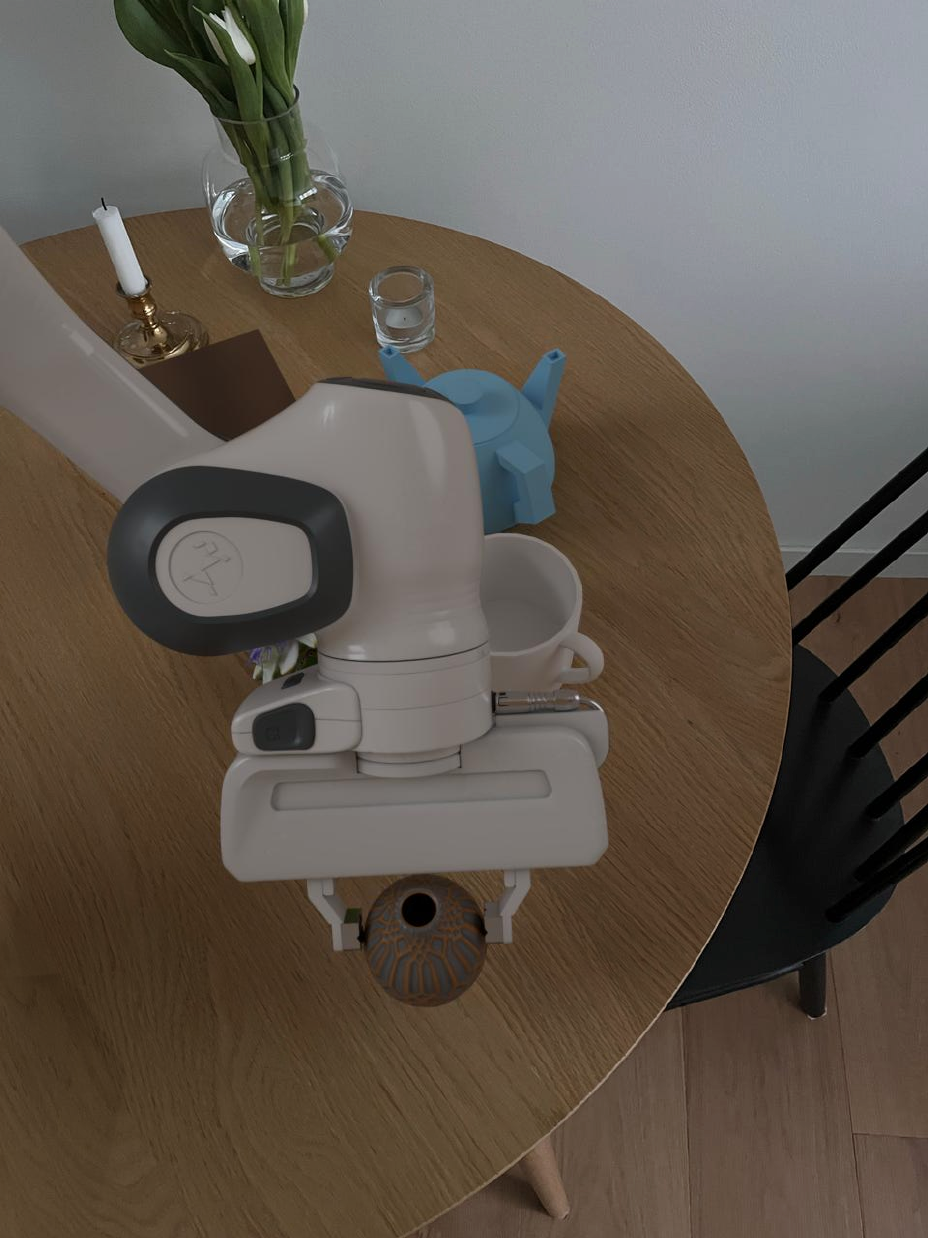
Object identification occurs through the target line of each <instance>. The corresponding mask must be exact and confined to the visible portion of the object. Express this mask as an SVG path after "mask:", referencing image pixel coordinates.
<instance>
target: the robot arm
mask: <svg viewBox="0 0 928 1238" xmlns="http://www.w3.org/2000/svg"><path fill="white" fill-rule="evenodd" d="M138 369H139V368H137V367H136V366H135V365H133V364H132V362H130V361H129V359H127V358H125V357H124V356H123V355H122V354H121V353H120V352H119V351H118V350H117V349H115V347H114V346H112V345H111V344H110V343H109V342H107V340H105V339H104V338H103V337H102V336H101V335H99V333H97V331H95V329H93V328H92V327H91V326H90V325H88V324H87V322H86V321H85V320H83V319H82V318H81V317H80V316H79V315H78V314H76V312H75V311H74V310H73V309H72V308H71V307H70V305H68V303H66V302H65V301H64V299H63V298H62V297H61V296H60V295H59V293H58V292H56V290H55V289H54V287H52V285H51V284H50V283H49V282H48V281H47V280H46V278H45V277H44V276H43V274H42V273H41V272H40V271H39V270H38V269H37V267H36V266H35V265H34V264H33V262H31V260H30V259H29V258H28V256H27V255H26V254H25V253H24V252H23V250H22V249H21V247H20V246H19V245H18V243H16V241H15V240H14V239H13V238H12V236H11V235H10V234H9V233H8V232H7V230H6V229H5V228H4V226H3V225H2V224H1V223H0V407H2V408H4V409H5V410H7V411H8V412H10V413H11V414H12V415H14V416H15V417H17V418H18V419H19V420H20V421H22V422H23V423H24V424H26V426H28V427H29V428H30V429H32V430H33V431H34V432H35V433H36V434H38V435H39V436H40V437H41V438H42V439H44V441H46V442H48V443H49V444H50V445H51V446H52V447H53V448H54V449H56V450H57V451H58V452H59V453H60V454H61V455H63V456H64V457H65V458H66V459H68V461H70V462H71V463H73V464H74V465H75V466H76V467H77V468H78V469H80V470H81V471H82V472H83V473H85V474H86V475H87V476H88V477H90V479H92V480H93V481H94V482H95V483H97V484H98V485H99V486H100V487H102V488H103V489H104V490H105V491H106V492H107V493H108V494H110V495H111V496H113V497H114V498H115V499H116V500H117V501H118V502H120V504H121V505H122V506H121V507H120V509H119V511H118V512H117V514H116V516H115V518H114V521H113V523H112V525H111V529H110V532H109V536H108V541H107V547H106V549H107V550H106V565H107V572H108V578H109V582H110V585H111V588H112V591H113V593H114V594H113V595H115V598H116V600H117V602H118V604H119V607H121V609H122V611H123V613H124V614H125V615H126V617H127V618H128V619H129V620H130V621H131V623H133V625H134V626H135V627H136V628H137V629H138V630H139V631H141V632H142V633H143V634H144V635H145V636H147V637H148V638H149V639H151V640H152V641H154V642H155V643H157V644H158V645H160V646H162V647H165V648H167V649H168V650H171V651H174V652H177V653H180V654H184V655H188V656H195V657H206V658H207V657H210V658H211V657H220V656H221V657H222V656H231V655H236V654H240V653H241V654H242V653H244V652H248V651H249V650H252V649H256V648H261V647H265V646H268V645H272V644H276V643H280V642H284V641H288V640H291V639H294V638H298V637H301V636H304V635H307V634H310V633H313V634H314V635H315V636H316V640H317V648H316V652H317V653H318V664H316V665H313V666H311V667H308V668H305V669H303V670H300V669H299V670H300V671H299V670H297V672H294V673H291V674H289V675H286V676H283V677H280V678H277V679H275V680H272V681H269V682H267V683H265V684H263V683H262V684H263V685H262V684H261V685H259V686H258V687H257V688H255V689H254V690H253V691H252V692H250V694H249V695H248V696H246V698H245V699H244V700H243V701H242V702H241V704H240V705H239V707H238V708H237V709H236V711H235V713H234V715H233V718H232V721H231V724H230V731H231V739H232V744H233V746H234V749H235V750H236V751H237V754H236V755H235V758H234V759H233V760H232V761H231V764H230V765H229V767H228V769H227V770H226V773H225V775H224V778H223V783H222V788H221V798H220V817H219V818H220V821H219V822H220V827H219V829H220V849H221V850H220V851H221V853H220V854H221V860H222V864H223V866H224V868H225V869H226V870H227V872H229V873H230V875H231V876H233V878H235V880H237V881H238V882H240V883H259V882H280V881H281V882H282V881H299V880H300V881H302V880H306V889H307V890H306V891H307V898H308V899H309V901H311V903H312V904H313V906H315V908H316V909H317V910H318V912H319V913H320V914H321V916H322V917H323V918H324V920H325V921H326V922H327V923H328V925H331V935H332V947H333V951H334V952H335V953H339V952H341V953H343V952H355V951H356V952H357V951H362V950H363V935H364V926H363V925H362V924H363V921H364V919H363V908H362V907H353V908H352V907H350V908H349V907H347V905H346V904H345V903H344V901H343V899H342V898H341V896H340V895H339V893H338V892H337V890H336V887H337V883H338V880H339V879H343V878H365V877H385V876H405V875H407V876H411V875H415V874H448V873H449V874H451V873H452V874H453V873H470V872H471V873H472V872H495V871H503V881H504V882H503V884H504V886H505V887H504V889H503V892H501V895H500V897H499V899H498V900H497V901H485V902H483V916H484V921H485V941H486V945H507V944H508V945H509V944H513V924H512V923H513V921H512V919H513V918H512V917H513V916H515V914H516V912H517V911H518V910H519V908H520V906H521V904H522V902H523V901H524V899H525V898H526V896H527V894H528V893H529V891H530V888H531V887H532V884H531V870H537V869H557V868H578V867H579V868H580V867H591V866H594V865H596V864H597V863H598V862H599V860H600V859H602V856H603V855H604V854H605V853H606V851H607V850H608V848H609V830H608V829H609V828H608V819H607V812H606V803H605V799H604V793H603V788H602V783H601V779H600V774H599V773H600V772H599V769H600V768H601V767H603V765H604V763H605V762H606V761H607V759H608V756H609V753H610V747H611V746H610V745H611V743H610V742H611V741H610V739H611V738H610V722H609V717H608V714H607V712H606V710H605V709H604V708H603V706H602V705H601V704H600V703H598V701H596V700H595V699H593V698H590V697H589V696H585V695H580V691H579V690H577V689H572V688H560V689H557V690H553V692H532V691H529V692H528V691H512V692H493V690H492V685H491V662H490V642H489V630H488V625H487V622H486V619H485V616H484V614H483V611H482V607H481V603H480V597H479V582H480V575H481V570H482V566H483V562H484V556H485V541H484V524H483V510H482V499H481V489H480V480H479V473H478V465H477V459H476V453H475V448H474V444H473V439H472V435H471V432H470V428H469V425H468V423H467V420H466V418H465V417H464V415H463V413H462V412H461V411H460V410H459V409H458V408H457V407H456V405H455V404H454V403H453V402H452V401H450V400H449V399H448V398H446V397H445V396H443V395H442V394H440V393H438V392H436V391H434V390H432V389H430V388H427V387H424V388H423V387H419V386H416V385H413V384H406V383H400V382H393V381H387V379H386V380H385V379H378V378H370V377H359V378H358V377H352V376H333V377H326V378H325V379H321V380H318V381H316V382H314V383H313V384H312V385H311V387H310V388H309V389H308V390H307V391H306V392H305V393H304V394H303V395H301V397H299V398H298V399H296V402H294V403H293V404H291V405H290V406H289V407H287V408H286V409H285V410H283V411H282V412H280V413H279V414H277V415H275V416H274V417H272V418H270V419H269V420H267V421H266V422H264V423H262V424H261V425H259V426H257V427H256V428H254V429H252V430H250V431H248V432H246V433H244V434H242V435H240V436H238V437H237V438H235V439H233V440H231V439H229V438H226V437H224V436H221V435H219V434H217V433H215V432H213V431H211V430H209V429H208V428H206V427H205V426H203V425H202V424H201V423H199V422H198V421H197V420H195V419H194V418H193V417H191V416H190V415H189V414H188V413H187V412H185V411H184V410H183V409H182V408H181V407H180V406H178V405H177V404H176V403H175V402H174V401H173V400H172V399H170V398H169V397H168V396H167V395H166V394H165V393H164V392H163V391H161V390H160V389H159V388H158V387H157V386H156V385H155V384H154V383H152V382H151V381H150V380H149V379H148V378H147V377H146V376H145V375H143V374H142V373H141V372H140V371H139V370H138ZM581 705H586V706H588V707H581Z"/></svg>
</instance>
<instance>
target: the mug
mask: <svg viewBox="0 0 928 1238" xmlns="http://www.w3.org/2000/svg"><path fill="white" fill-rule="evenodd" d="M484 541H485V556H484V562H483V566H482V570H481V575H480V582H479V597H480V603H481V607H482V611H483V614H484V616H485V619H486V622H487V625H488V630H489V642H490V662H491V685H492V690H493V692H512V691H528V692H529V691H532V692H553V690H557V689H561V687H562V686H563V684H564V685H565V684H568V685H569V684H573V685H574V684H586V683H592V682H594V681H595V680H596V679H597V678H598V677H599V676H600V675H601V673H602V671H603V670H604V667H605V659H604V658H605V657H604V653H603V651H602V649H601V648H600V647H599V645H598V644H597V642H595V641H594V640H592V639H591V638H589V636H587V635H585V634H583V633H581V632H579V626H580V620H581V614H582V609H583V585H582V582H581V579H580V575H579V574H578V570H577V569H576V568H575V567H574V565H573V563H572V562H571V561H570V560H569V558H568V556H566V555H565V554H564V553H563V552H561V551H560V550H559V549H557V548H556V547H555V546H554V545H552V544H550V543H548V542H546V541H544V540H542V539H540V538H537V537H535V536H531V535H526V534H522V533H518V532H517V533H516V532H497V533H494V534H490V535H486V536H484ZM575 654H577V656H579V657H580V658H581V659H582V660H583V661H584V662H585V663H586V666H587V667H572V665H573V660H574V655H575Z"/></svg>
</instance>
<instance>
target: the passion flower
mask: <svg viewBox="0 0 928 1238" xmlns="http://www.w3.org/2000/svg"><path fill="white" fill-rule="evenodd" d="M311 648H312V649H317V640H316V636H315V635H314V634H313V633H310V634H307V635H304V636H301V637H298V638H294V639H291V640H288V641H284V642H280V643H276V644H272V645H268V646H265V647H261V648H256V649H252V650H249V651H247V652H248V653H249V658H248V659H247V660H246V662H245V664H244V666H245V667H246V666H247V664H249V665H255V667H254V670H253V674H252V679H253V680H256V681H262V684H261V685H263V684H265V683H267V682H269V681H272V680H275V679H277V678H280V677H283V676H286V675H289V674H291V673H294V672H297V671H300V670H303V669H305V668H308V667H311V666H313V665H316V664H318V653H317V651H314V652H313V653H312V654H311V655H310V656H308V658H307V659H306V660H305V661H304V662H303V659H304V658H305V655H306V654H307V653H308V651H309V650H310V649H311ZM302 662H303V663H302ZM301 663H302V664H301ZM299 667H300V668H299Z"/></svg>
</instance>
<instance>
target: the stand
mask: <svg viewBox="0 0 928 1238" xmlns="http://www.w3.org/2000/svg"><path fill="white" fill-rule="evenodd" d="M137 369H138V370H139V371H140V372H141V373H142V374H143V375H145V376H146V377H147V378H148V379H149V380H150V381H151V382H152V383H154V384H155V385H156V386H157V387H158V388H159V389H160V390H161V391H163V392H164V393H165V394H166V395H167V396H168V397H169V398H170V399H172V400H173V401H174V402H175V403H176V404H177V405H178V406H180V407H181V408H182V409H183V410H184V411H185V412H187V413H188V414H189V415H190V416H191V417H193V418H194V419H195V420H197V421H198V422H199V423H201V424H202V425H203V426H205V427H206V428H208V429H209V430H211V431H213V432H215V433H217V434H219V435H221V436H224V437H226V438H229V439H231V440H233V439H235V438H237V437H238V436H240V435H242V434H244V433H246V432H248V431H250V430H252V429H254V428H256V427H257V426H259V425H261V424H262V423H264V422H266V421H267V420H269V419H270V418H272V417H274V416H275V415H277V414H279V413H280V412H282V411H283V410H285V409H286V408H287V407H289V406H290V405H291V404H293V403H294V402H296V401H297V399H296V397H295V395H294V394H293V392H292V390H291V387H290V386H289V384H288V382H287V380H286V378H285V377H284V374H283V373H282V371H281V369H280V367H279V364H278V363H277V361H276V359H275V357H274V355H273V354H272V351H271V350H270V348H269V346H268V344H267V343H266V341H265V338H264V337H263V335H262V333H261V331H260V329H259V328H255V329H253V330H250V331H247V332H243V333H241V334H238V335H235V336H232V337H229V338H226V339H223V340H220V341H217V342H214V343H212V344H208V345H205V346H201V347H199V348H197V349H193V350H190V351H187V352H184V353H181V354H178V355H175V356H172V357H169V358H166V359H163V360H160V361H156V362H154V363H150V364H147V365H145V366H142V367H139V368H137Z"/></svg>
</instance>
